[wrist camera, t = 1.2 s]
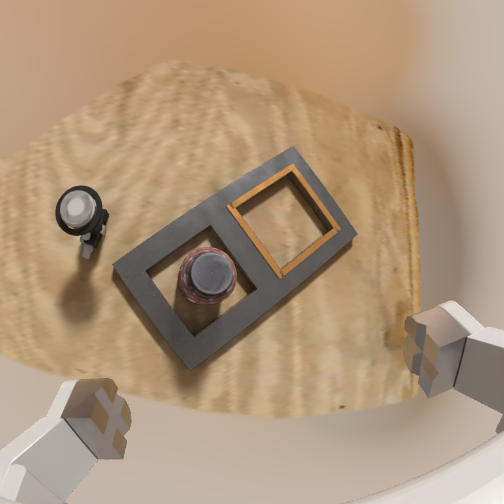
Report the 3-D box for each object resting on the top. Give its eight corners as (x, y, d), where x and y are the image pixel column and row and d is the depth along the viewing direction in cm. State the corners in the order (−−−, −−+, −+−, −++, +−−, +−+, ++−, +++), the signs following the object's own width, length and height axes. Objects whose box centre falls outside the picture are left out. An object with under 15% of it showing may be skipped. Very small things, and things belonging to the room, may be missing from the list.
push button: (105, 264, 38) (86, 251, 29) (69, 253, 37) (41, 238, 27) (120, 215, 40) (107, 188, 30) (84, 205, 38) (63, 177, 29)
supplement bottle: (179, 255, 41) (183, 237, 30) (225, 259, 42) (245, 243, 31) (175, 302, 40) (178, 301, 29) (222, 306, 41) (242, 306, 30)
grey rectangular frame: (114, 266, 38) (111, 264, 37) (289, 150, 47) (293, 145, 46) (189, 368, 39) (190, 371, 37) (352, 236, 48) (358, 233, 46)
